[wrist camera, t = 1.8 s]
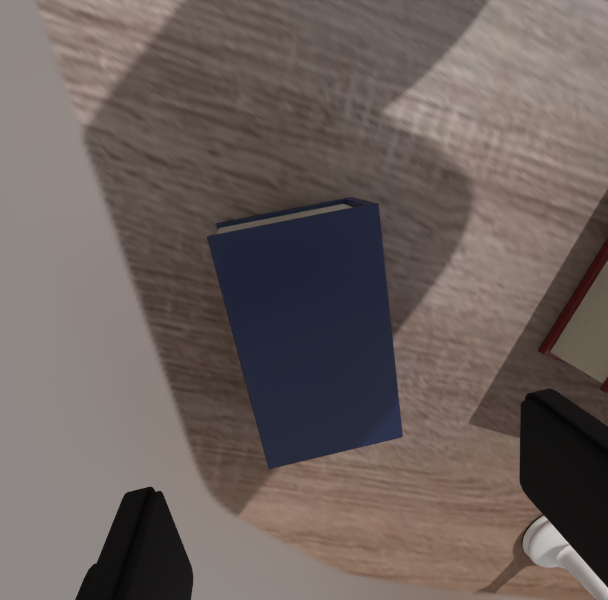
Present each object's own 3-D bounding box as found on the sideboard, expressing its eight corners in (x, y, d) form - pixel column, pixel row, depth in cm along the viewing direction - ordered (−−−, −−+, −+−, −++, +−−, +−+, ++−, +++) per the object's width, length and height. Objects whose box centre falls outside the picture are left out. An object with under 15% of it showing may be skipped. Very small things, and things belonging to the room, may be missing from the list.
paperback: (216, 223, 17) (206, 237, 14) (352, 197, 18) (378, 203, 14) (266, 416, 21) (268, 469, 17) (376, 391, 21) (402, 437, 18)
